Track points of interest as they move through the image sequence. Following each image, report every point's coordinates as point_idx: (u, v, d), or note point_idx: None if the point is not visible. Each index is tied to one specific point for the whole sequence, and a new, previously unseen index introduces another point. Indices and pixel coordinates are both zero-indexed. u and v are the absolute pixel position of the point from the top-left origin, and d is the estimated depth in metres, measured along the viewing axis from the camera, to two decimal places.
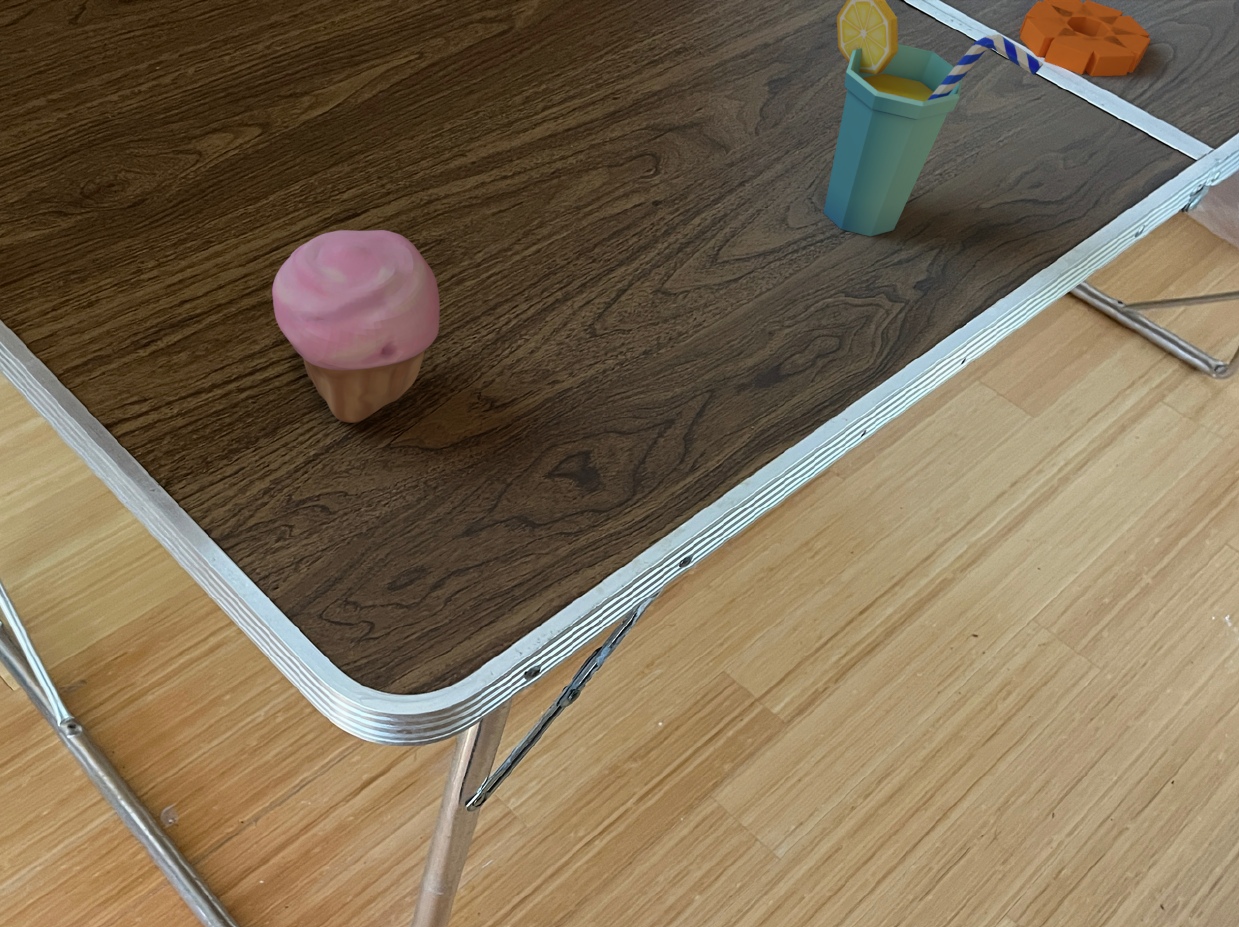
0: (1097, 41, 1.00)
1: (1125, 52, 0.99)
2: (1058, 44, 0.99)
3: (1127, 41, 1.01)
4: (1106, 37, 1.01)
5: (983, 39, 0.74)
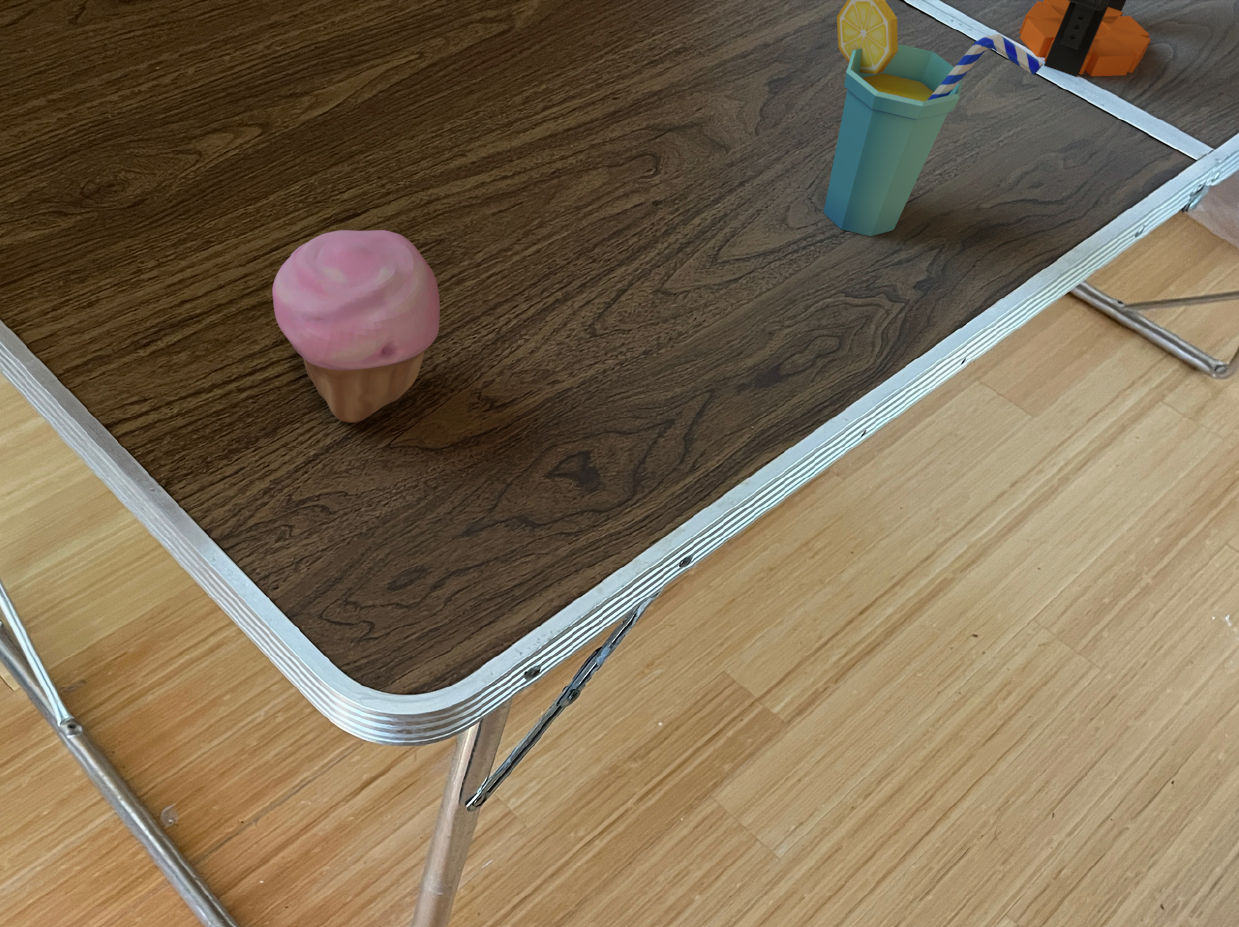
0: (1097, 41, 1.00)
1: (1125, 52, 0.99)
2: None
3: (1127, 41, 1.01)
4: (1106, 37, 1.01)
5: (983, 39, 0.74)
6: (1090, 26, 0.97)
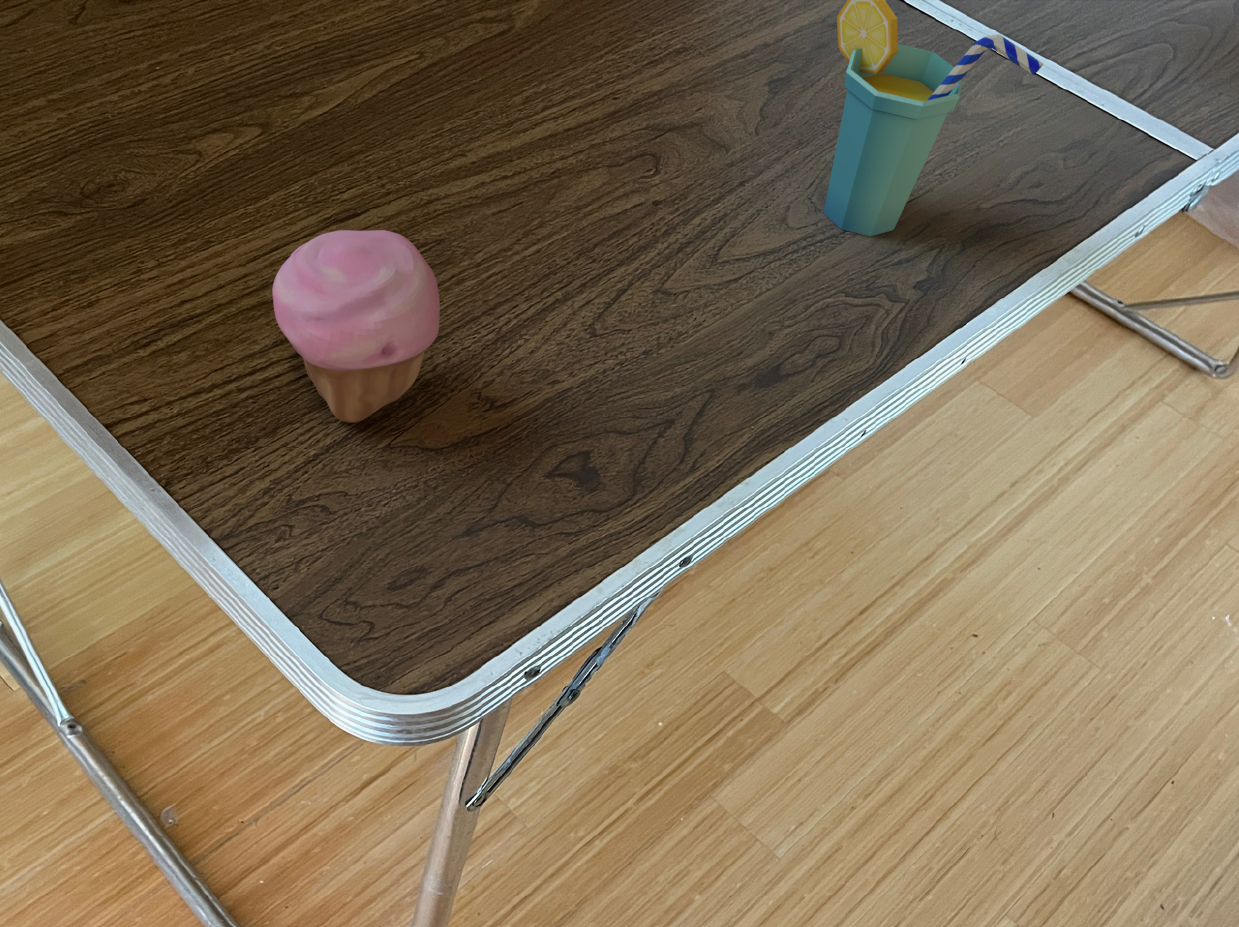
0: None
1: None
2: None
3: None
4: None
5: (983, 39, 0.74)
6: None
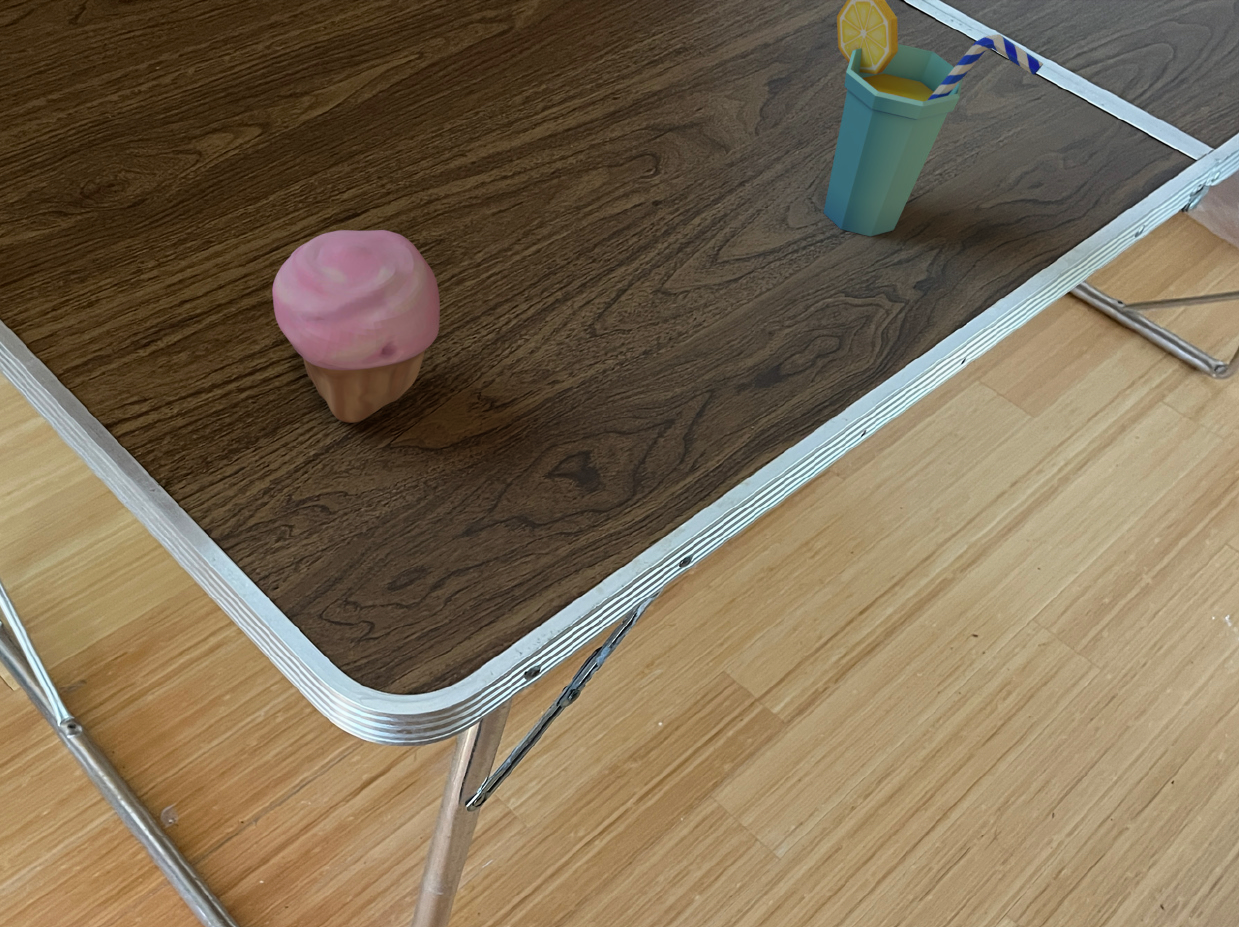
0: None
1: None
2: None
3: None
4: None
5: (983, 39, 0.74)
6: None
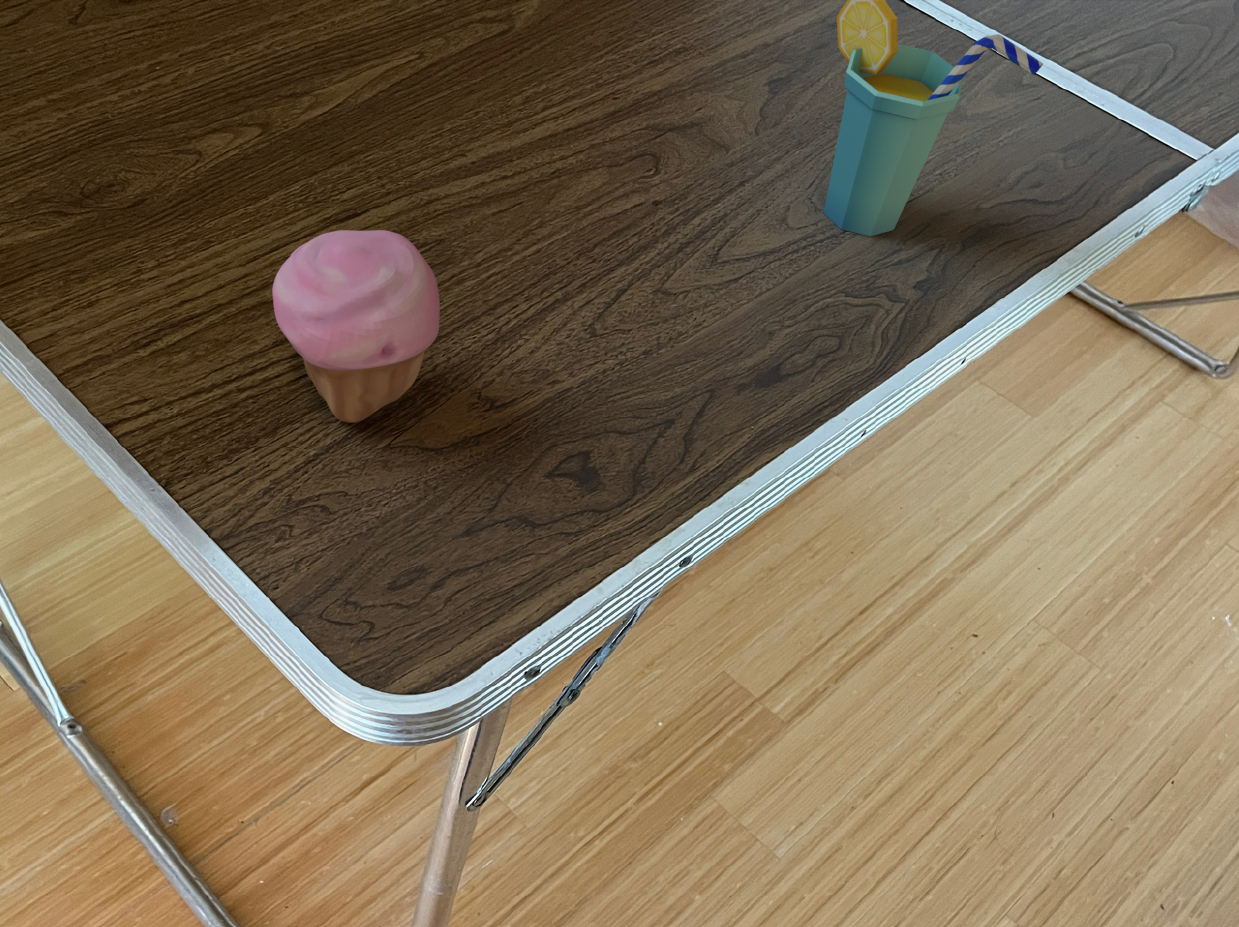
0: None
1: None
2: None
3: None
4: None
5: (983, 39, 0.74)
6: None
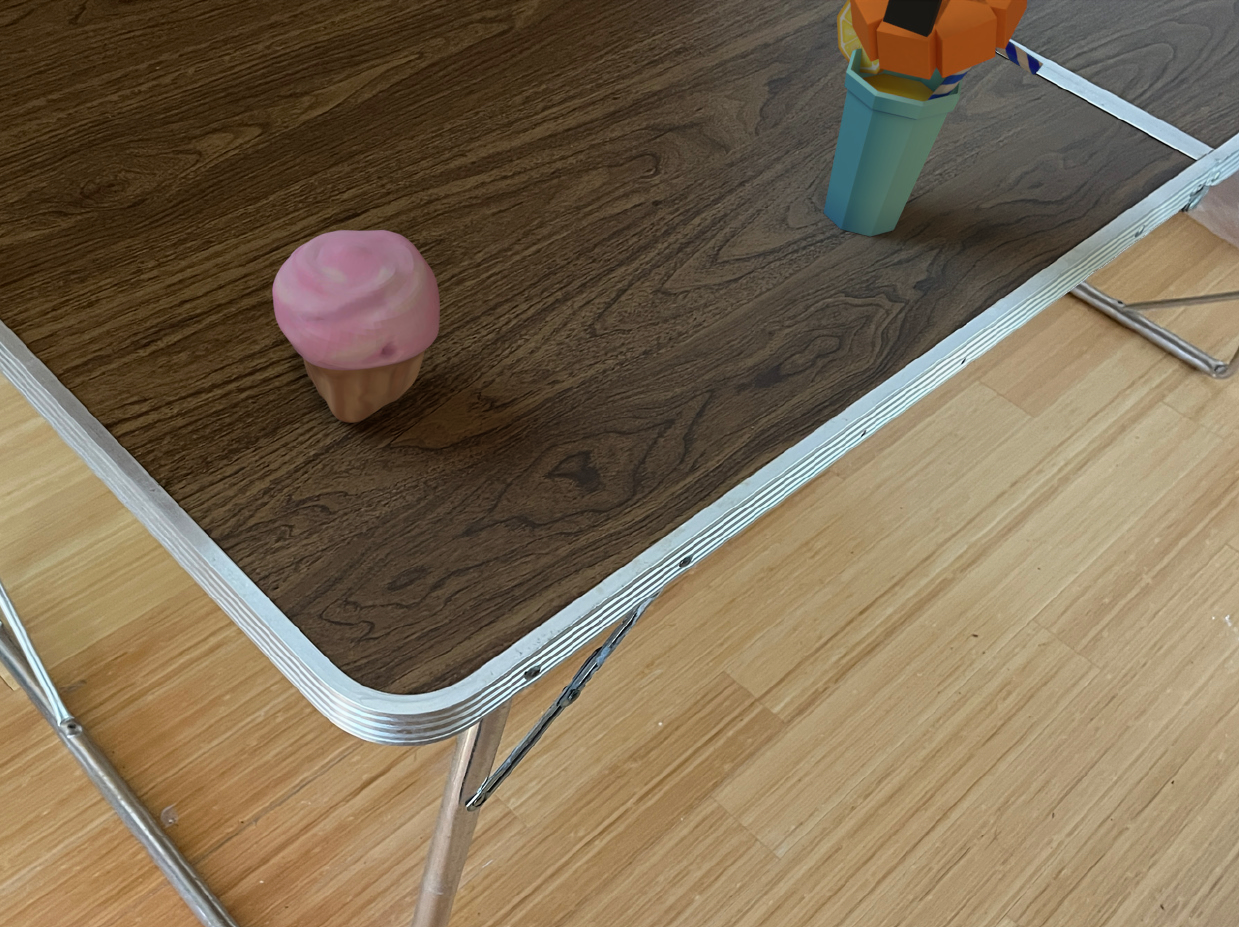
0: (944, 4, 0.72)
1: (983, 14, 0.71)
2: (886, 32, 0.72)
3: None
4: None
5: None
6: None
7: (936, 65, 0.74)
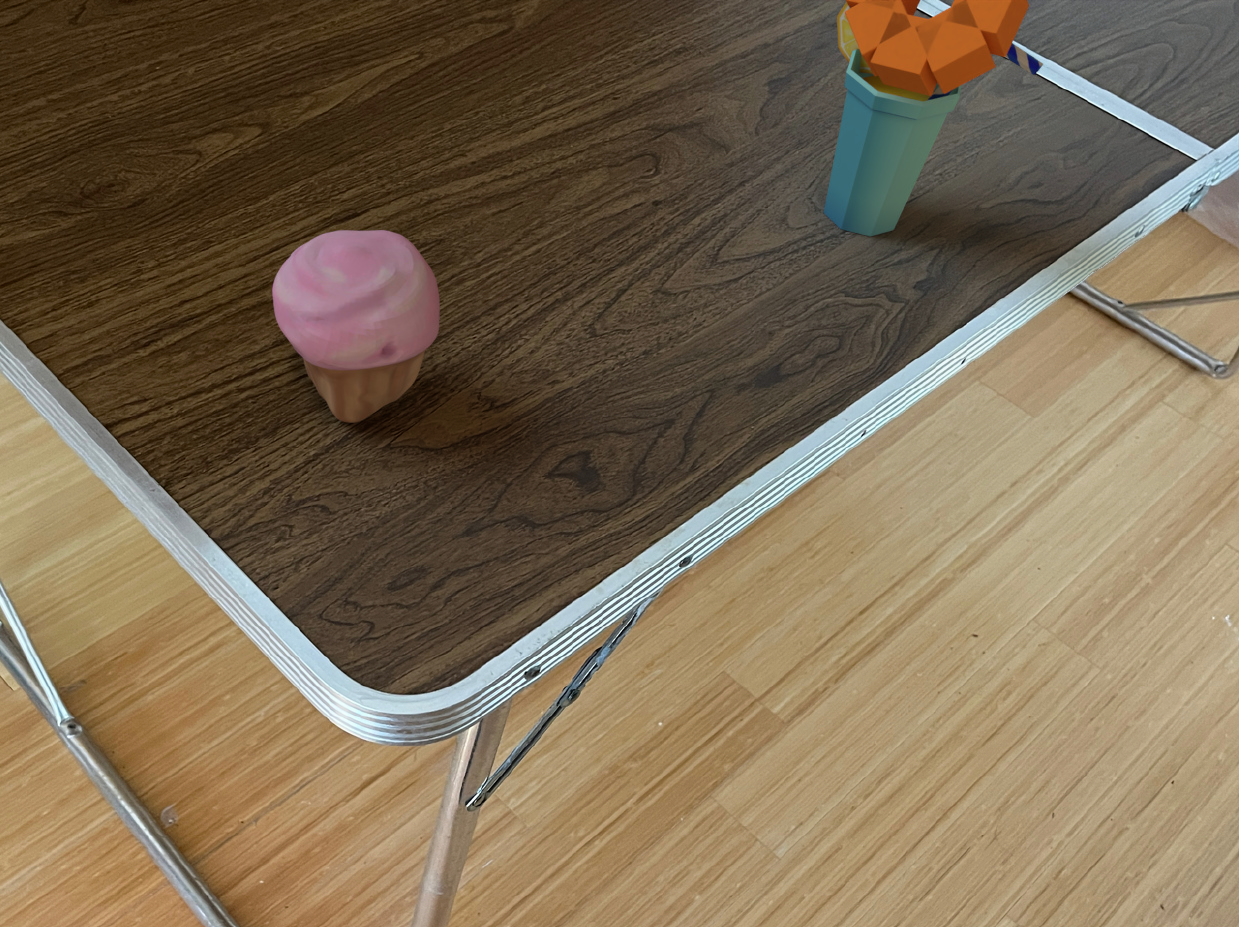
0: (936, 29, 0.72)
1: (973, 40, 0.71)
2: (879, 64, 0.74)
3: (982, 7, 0.71)
4: (951, 10, 0.72)
5: None
6: None
7: (937, 81, 0.75)
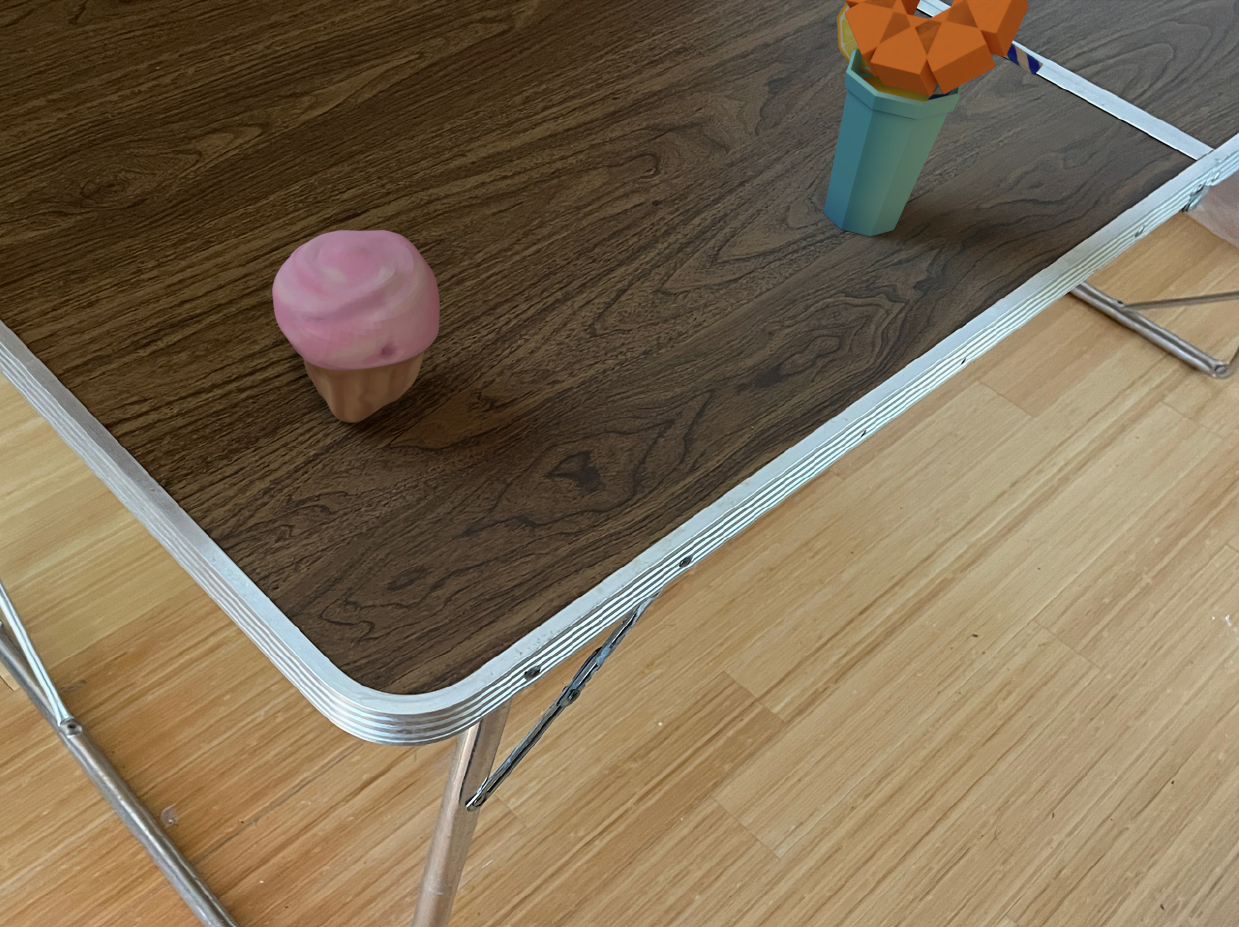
0: (936, 29, 0.72)
1: (973, 40, 0.71)
2: (879, 64, 0.74)
3: (982, 7, 0.71)
4: (951, 10, 0.72)
5: None
6: None
7: (937, 81, 0.75)
